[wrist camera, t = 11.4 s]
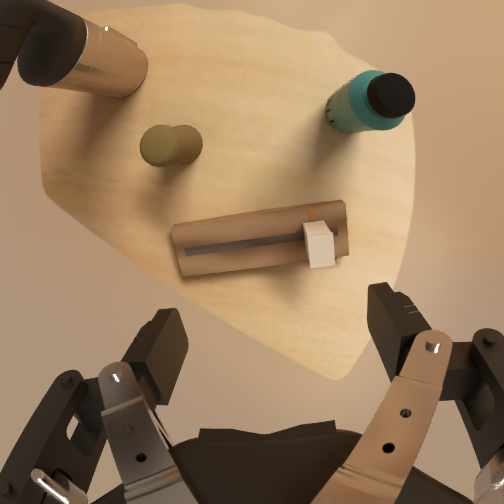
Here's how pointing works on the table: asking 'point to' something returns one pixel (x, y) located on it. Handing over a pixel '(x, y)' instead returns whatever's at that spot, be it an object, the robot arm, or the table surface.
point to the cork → (170, 145)
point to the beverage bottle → (370, 102)
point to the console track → (255, 238)
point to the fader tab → (319, 244)
